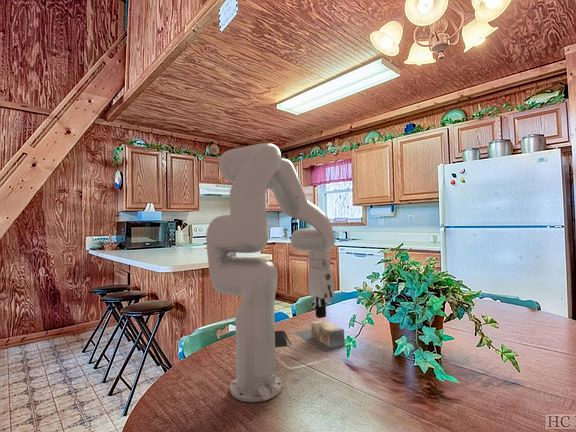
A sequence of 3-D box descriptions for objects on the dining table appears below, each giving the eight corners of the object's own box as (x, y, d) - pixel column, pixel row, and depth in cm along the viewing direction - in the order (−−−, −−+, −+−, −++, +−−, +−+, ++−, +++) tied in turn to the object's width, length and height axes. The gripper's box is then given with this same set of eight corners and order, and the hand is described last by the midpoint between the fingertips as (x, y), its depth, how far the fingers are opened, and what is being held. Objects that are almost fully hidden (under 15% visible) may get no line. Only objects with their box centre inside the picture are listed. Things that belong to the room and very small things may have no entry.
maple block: (323, 334, 112) (344, 344, 102) (311, 336, 110) (331, 347, 99) (323, 319, 112) (343, 329, 102) (311, 322, 110) (331, 331, 99)
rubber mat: (355, 346, 102) (355, 344, 102) (324, 353, 96) (324, 351, 96) (321, 328, 120) (321, 327, 120) (293, 334, 114) (293, 332, 114)
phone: (284, 330, 117) (291, 345, 102) (284, 333, 117) (291, 348, 102) (262, 332, 115) (267, 347, 101) (262, 335, 115) (267, 350, 101)
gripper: (341, 265, 105) (342, 320, 104) (317, 261, 118) (318, 310, 117) (322, 267, 101) (323, 324, 101) (299, 262, 115) (300, 313, 114)
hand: (320, 316), depth 109 cm, fingers closed
